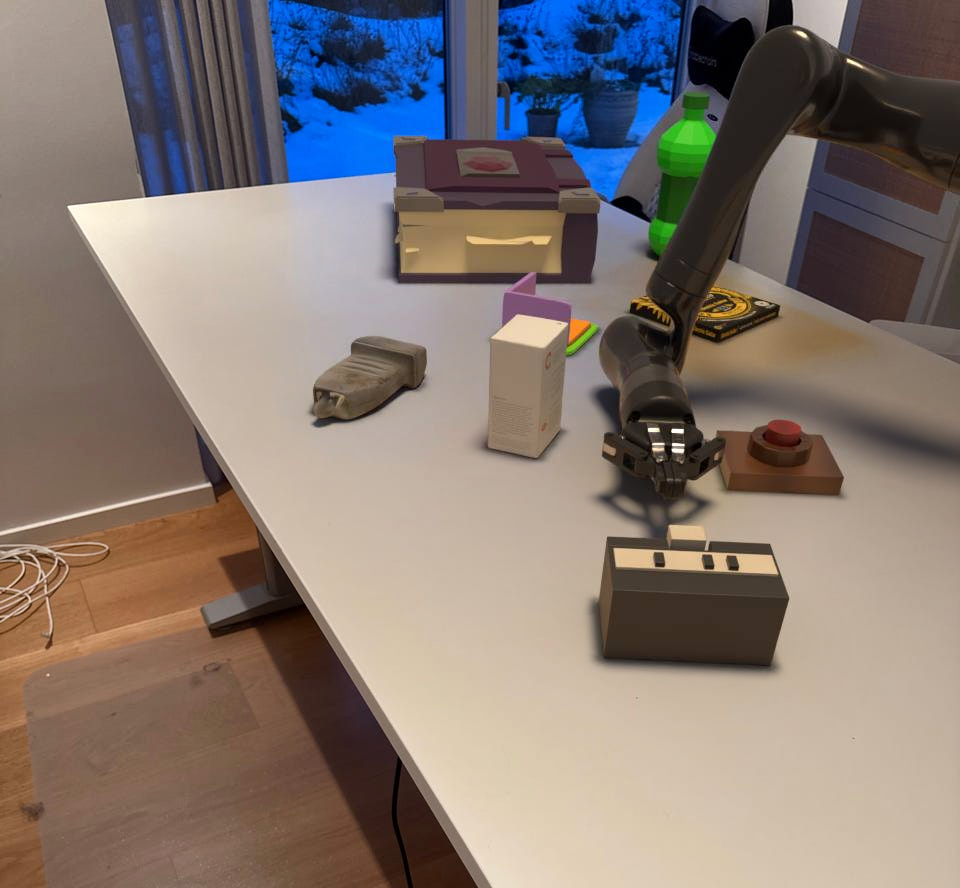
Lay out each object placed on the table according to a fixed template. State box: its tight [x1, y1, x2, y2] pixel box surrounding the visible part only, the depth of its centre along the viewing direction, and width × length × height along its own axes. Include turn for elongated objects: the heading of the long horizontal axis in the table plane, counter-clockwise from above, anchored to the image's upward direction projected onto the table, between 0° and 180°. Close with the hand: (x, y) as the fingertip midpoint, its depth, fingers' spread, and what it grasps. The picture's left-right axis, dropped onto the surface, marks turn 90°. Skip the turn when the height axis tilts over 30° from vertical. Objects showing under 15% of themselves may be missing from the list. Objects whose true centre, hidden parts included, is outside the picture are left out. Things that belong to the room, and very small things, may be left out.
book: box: [392, 135, 601, 284], centre depth 166 cm, size 33×45×14 cm
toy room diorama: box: [501, 272, 599, 356], centre depth 135 cm, size 12×12×7 cm
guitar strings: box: [629, 284, 781, 344], centre depth 144 cm, size 16×2×16 cm
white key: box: [666, 524, 707, 550], centre depth 83 cm, size 3×2×2 cm
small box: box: [487, 314, 568, 459], centre depth 107 cm, size 8×6×13 cm
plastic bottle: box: [648, 91, 717, 259], centre depth 159 cm, size 10×10×25 cm
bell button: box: [764, 419, 802, 447], centre depth 104 cm, size 4×4×2 cm
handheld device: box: [312, 335, 428, 420], centre depth 118 cm, size 10×20×5 cm, turn 154°
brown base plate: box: [715, 424, 845, 496], centre depth 105 cm, size 12×10×4 cm
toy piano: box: [598, 535, 790, 666], centre depth 81 cm, size 14×8×8 cm, turn 87°
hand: (673, 490), depth 90 cm, fingers closed
